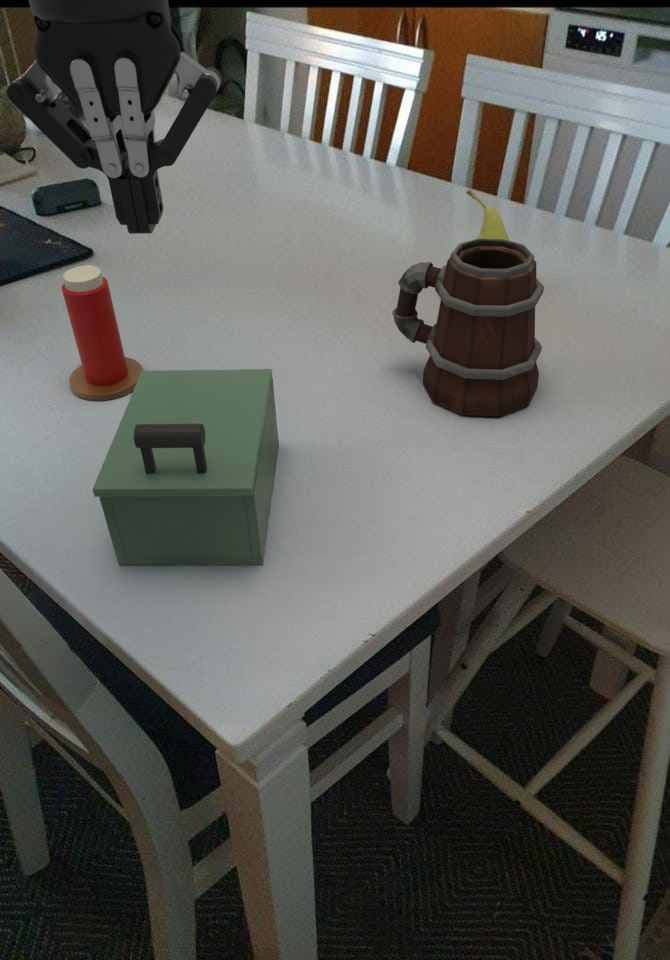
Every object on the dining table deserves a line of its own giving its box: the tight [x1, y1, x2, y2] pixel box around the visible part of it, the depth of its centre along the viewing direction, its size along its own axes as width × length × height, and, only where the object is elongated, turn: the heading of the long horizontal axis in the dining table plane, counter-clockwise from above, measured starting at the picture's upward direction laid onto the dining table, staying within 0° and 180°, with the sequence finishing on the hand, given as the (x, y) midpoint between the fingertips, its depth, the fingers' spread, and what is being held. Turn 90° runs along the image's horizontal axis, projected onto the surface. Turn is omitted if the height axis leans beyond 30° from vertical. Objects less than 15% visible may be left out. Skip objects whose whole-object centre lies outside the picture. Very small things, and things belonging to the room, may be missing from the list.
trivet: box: [68, 356, 144, 402], centre depth 89 cm, size 8×8×1 cm
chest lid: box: [92, 368, 273, 498], centre depth 67 cm, size 17×12×5 cm
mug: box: [392, 238, 545, 417], centre depth 82 cm, size 16×12×15 cm
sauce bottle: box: [61, 265, 128, 386], centre depth 85 cm, size 5×5×12 cm
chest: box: [98, 376, 280, 566], centre depth 71 cm, size 17×12×8 cm
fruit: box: [465, 188, 511, 241], centre depth 101 cm, size 7×8×12 cm
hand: (142, 228), depth 54 cm, fingers closed
